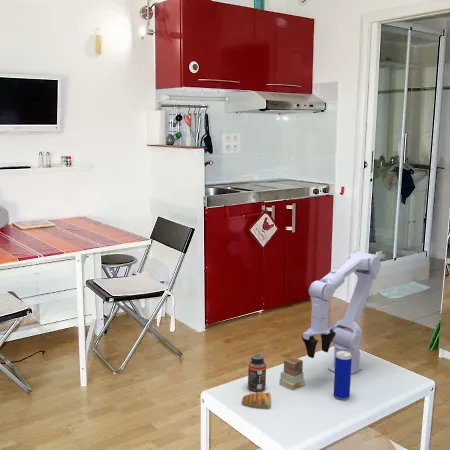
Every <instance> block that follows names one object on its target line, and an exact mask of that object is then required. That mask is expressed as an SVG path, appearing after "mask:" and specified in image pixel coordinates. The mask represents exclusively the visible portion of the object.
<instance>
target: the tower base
mask: <svg viewBox="0 0 450 450" xmlns="http://www.w3.org/2000/svg"><path fill="white" fill-rule="evenodd" d="M279 386H282V387H285V388H287V389H289V390H291V391H292V392H293V391H294V390H297V389H299V388H301V387H304V386H305V378H303V380H301V381H299V382H297V383H295V384H291V383H289V382H286V381H284V380H282V379H281V377H280V378H279Z"/></svg>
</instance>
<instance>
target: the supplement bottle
mask: <svg viewBox="0 0 450 450" xmlns="http://www.w3.org/2000/svg"><path fill="white" fill-rule="evenodd" d="M247 373H248V375H247V387H248V389H249V390H250V391H253V392H263V391H264V390H265V389H266V387H267V385H266V384H267V383H266V382H267V381H266V380H267V379H266V377H267V364H266V361H264V355H261V354H257V353H256V354H252V355H251V360H250V361H249V363H248V371H247Z"/></svg>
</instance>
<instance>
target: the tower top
mask: <svg viewBox="0 0 450 450" xmlns="http://www.w3.org/2000/svg"><path fill="white" fill-rule="evenodd" d="M280 378H281V379H282V380H284V381H286V382H289V383H291V384H295V383H297V382H299V381H301V380H303V379H304V372H303V371H302V373H301V374H299V375H297V376H295V377H293V376H290V375H288V374H286V373H284V370H282V371H281V372H280Z"/></svg>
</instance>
